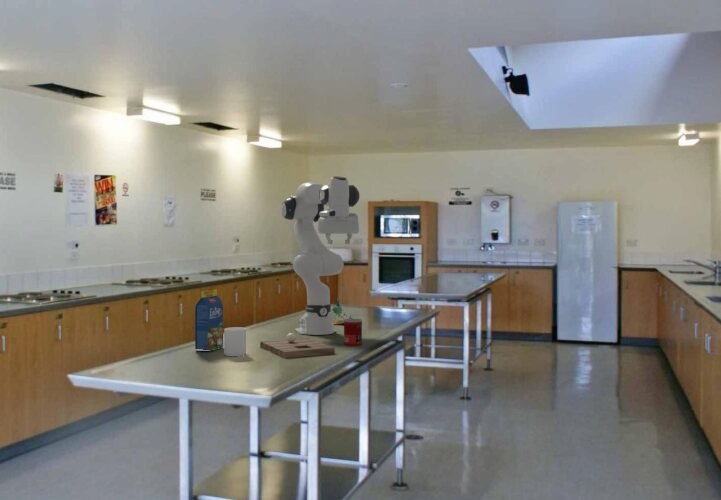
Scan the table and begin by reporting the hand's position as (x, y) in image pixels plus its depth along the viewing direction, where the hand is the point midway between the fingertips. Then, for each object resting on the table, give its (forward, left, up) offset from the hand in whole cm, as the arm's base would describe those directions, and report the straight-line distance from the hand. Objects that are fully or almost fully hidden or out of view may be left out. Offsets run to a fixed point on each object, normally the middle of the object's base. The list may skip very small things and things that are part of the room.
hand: (338, 244), depth 311 cm
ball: (+4, -24, -40) cm, 47 cm away
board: (+10, -24, -44) cm, 51 cm away
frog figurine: (-56, +28, -45) cm, 77 cm away
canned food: (+7, +4, -45) cm, 45 cm away
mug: (+8, -49, -45) cm, 67 cm away
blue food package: (-8, -56, -45) cm, 72 cm away
